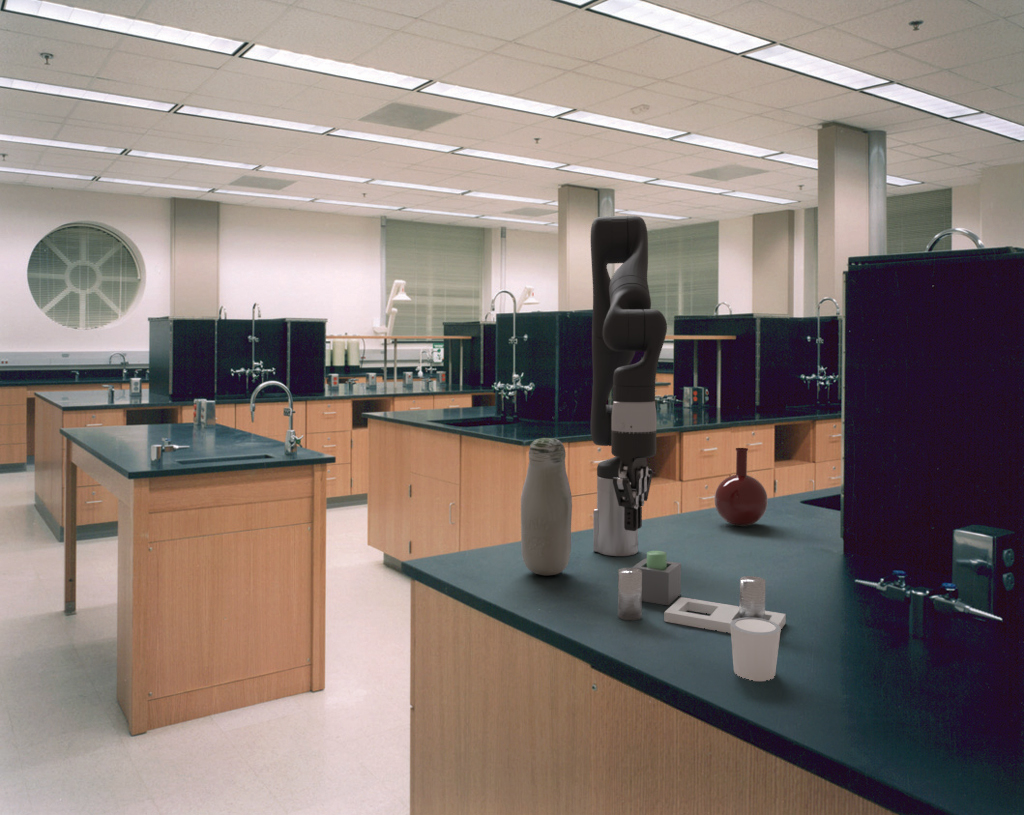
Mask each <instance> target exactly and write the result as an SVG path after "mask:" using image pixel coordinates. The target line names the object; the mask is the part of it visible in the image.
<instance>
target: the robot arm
mask: <svg viewBox="0 0 1024 815" xmlns="http://www.w3.org/2000/svg"><path fill="white" fill-rule="evenodd" d="M590 228H591V229H590V256H591V258H590V260H591V274H592V275H591V276H592V278H591V279H592V319H591V320H592V322H591V323H592V324H591V354H592V358H591V359H592V391H591V392H592V395H591V396H592V397H591V411H590V436H591V437H590V438H591V440H592V442H593V444H594V445H595V446H602V447H610V448H611V454H612V456H614V457H612V458H609V459H605V460H602V461H600V462H599V463H598V464H597V466H596V508H595V509H593V515H592V516H593V518H592V519H593V531H592V532H593V533H592V535H593V536H592V538H593V546H592V548H593V552H595V553H599V554H601V555H605V556H611V557H627V556H628V557H629V556H633V555H636V554H637V553H638V551H639V529H641V528H642V526H643V525H642V524H643V507H644V505H645V502H647V501H648V498H649V494H650V488H651V483H652V479H653V475H654V471H653V469H651V468H649V466H648V460H647V459H648V458H653V457H656V455H657V420H658V419H657V409H656V379H657V378H656V376H657V369H658V364H659V359H660V357H661V352H662V349H663V346H664V343H665V340H666V337H667V336H666V335H667V331H668V324H667V319H666V318H665V315H664V314H663V313H662V312H661V311H660V310H658V309H656V308H654V309H653V308H652V300H651V294H650V288H649V283H648V282H649V281H648V268H649V237H648V230H647V229H648V228H647V224H646V221H645V220H644V219H643V218H642V217H641V216H638V215H614V216H613V215H611V216H609V215H608V216H597V217H595V218H594V219H593V221H592V223H591V227H590ZM609 264H613V265H614V264H621V265H620V266H619V267H618V268H617V269H616V270H615V272H614V273H613V274H612V276H611V277H610V274H609V270H608V265H609ZM636 352H644V354H643V356H642V358H641V359H640V360H639V361H637V362H636V363H633V364H632V360H634V358H635V354H636ZM611 391H612V392H613V394H612V395H613V396H612V397H613V398H612V404H607V403H608V402H607V401H608V399H609V396H610V394H611Z"/></svg>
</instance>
